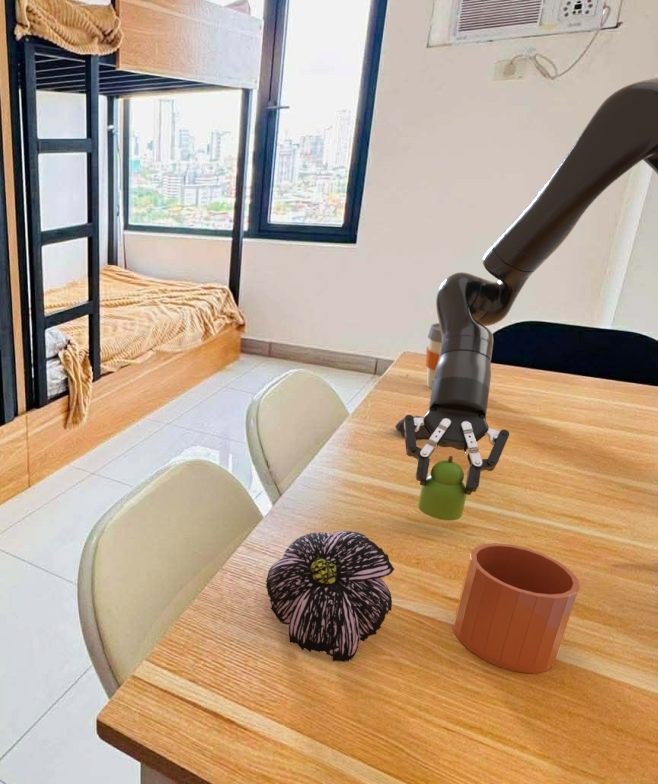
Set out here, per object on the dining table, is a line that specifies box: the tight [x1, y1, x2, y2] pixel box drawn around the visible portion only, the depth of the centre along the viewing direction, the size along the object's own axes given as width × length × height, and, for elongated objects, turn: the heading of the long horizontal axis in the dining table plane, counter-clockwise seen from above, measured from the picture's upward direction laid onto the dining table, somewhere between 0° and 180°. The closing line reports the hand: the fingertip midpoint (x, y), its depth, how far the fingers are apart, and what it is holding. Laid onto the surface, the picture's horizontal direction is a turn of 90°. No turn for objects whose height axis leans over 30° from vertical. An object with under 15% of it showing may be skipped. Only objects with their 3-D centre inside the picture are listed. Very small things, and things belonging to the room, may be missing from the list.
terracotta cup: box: [452, 542, 581, 674], centre depth 71 cm, size 10×10×10 cm
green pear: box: [417, 455, 467, 521], centre depth 93 cm, size 6×6×9 cm
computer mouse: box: [394, 415, 431, 440], centre depth 128 cm, size 6×9×4 cm, turn 94°
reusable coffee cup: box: [425, 322, 442, 389], centre depth 154 cm, size 13×13×15 cm
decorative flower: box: [265, 530, 395, 663], centre depth 75 cm, size 14×12×15 cm
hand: (445, 487), depth 91 cm, fingers closed on green pear, 5 cm apart
